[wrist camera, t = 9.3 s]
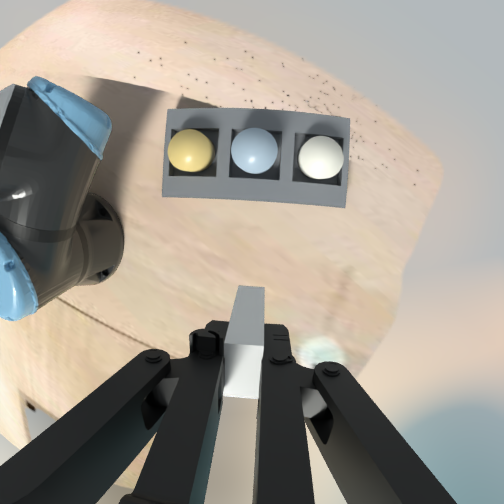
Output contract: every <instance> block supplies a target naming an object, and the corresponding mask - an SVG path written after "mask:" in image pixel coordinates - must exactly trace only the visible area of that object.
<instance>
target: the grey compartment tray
mask: <svg viewBox="0 0 504 504" xmlns="http://www.w3.org/2000/svg"><path fill="white" fill-rule="evenodd" d="M248 128H260V129H263V130H266V131H267V132H269V133H270V134H271V135H272V136H273V137H274V139H275V141H276V143H277V147H278V153H277V157H276V160H275V162H274V164H273V165H272V167H271V168H270V169H269V170H267V171H266V172H264V173H260V174H251V173H248V172H246V171H244V170H242V169H241V168H240V167H238V166H237V165H236V163H235V162H234V160H233V158H232V154H231V146H232V143H233V140H234V139H235V137H236V136H237V135H238V134H239V133H240V132H242V131H243V130H245V129H248ZM186 129H194V130H197V131H199V132H201V133H202V134H204V135H205V136H206V137H207V138H209V139H210V140H211V141H212V143H213V145H214V147H215V158H214V160H213V162H212V164H211V165H210V166H209V167H208V168H207V169H205V170H203V171H201V172H189V171H183V170H180V169H178V168H176V167H175V166H174V165H173V164H172V163H171V162H170V160H169V157H168V146H169V143H170V141H171V139H172V138H173V137H174V135H176V134H177V133H178V132H180V131H182V130H186ZM316 136H326V137H329V138H332V139H333V140H335V141H336V142H337V143H338V144H339V146H340V147H341V149H342V152H343V156H344V160H343V165H342V168H341V169H340V171H339V172H338V173H337V174H336V175H334V176H333V177H330V178H325V179H312V178H309V177H307V176H305V175H304V174H303V173H302V172H301V170H300V169H299V167H298V164H297V155H298V152H299V150H300V148H301V147H302V146H303V145H304V144H305V143H306V142H307V141H308V140H309V139H311V138H313V137H316ZM349 142H350V118H343V117H337V116H330V115H322V114H314V113H305V112H294V111H283V110H269V109H249V108H184V109H168V111H167V121H166V133H165V146H164V162H163V184H162V197H180V198H209V199H231V200H250V201H266V202H280V203H294V204H306V205H318V206H329V207H339V208H345V205H346V193H347V180H348V163H349Z"/></svg>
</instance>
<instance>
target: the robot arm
mask: <svg viewBox="0 0 504 504" xmlns="http://www.w3.org/2000/svg"><path fill="white" fill-rule="evenodd" d="M27 86H28V87H27V88H26V87H22V86H19V85H15V84H11V85H10V86H8V87H6V88H5V89H3V90H1V91H0V317H1V318H3V319H5V320H8V321H17V320H20V319H22V318H24V317H25V316H27V315H30V314H34V313H35V312H36V311H37V310H38V309H39V308H41V307H42V306H44V305H45V304H47V303H48V302H50V301H52V300H53V299H55V298H56V297H58V296H59V295H61V294H62V293H64V292H66V291H67V290H69V289H70V288H72V287H74V286H81V285H95V284H99V283H101V282H103V281H105V280H106V279H108V278H109V277H111V276H112V275H113V274H114V272H115V271H116V270H117V268H118V266H119V264H120V262H121V259H122V255H123V249H124V237H123V230H122V227H121V223H120V221H119V218H118V216H117V214H116V213H115V211H114V209H113V208H112V207H111V206H110V204H109V203H108V202H106V201H105V200H104V199H103V198H101V197H100V196H98V195H95V194H92V193H88V190H89V188H90V185H91V182H92V180H93V177H94V175H95V172H96V170H97V167H98V165H99V162H100V160H102V159H103V151H104V148H105V146H106V143H107V141H108V138H109V136H110V133H111V130H112V123H111V120H110V118H109V116H108V115H107V114H106V113H105V112H103V111H102V110H100V109H99V108H97V107H96V106H94V105H93V104H91V103H89V102H88V101H86V100H84V99H83V98H81V97H79V96H77V95H75V94H74V93H72V92H70V91H68V90H66V89H64V88H62V87H60V86H57V85H56V84H54V83H52V82H49V81H48V80H46V79H44V78H41V77H38V76H35V77H33V78H32V79H31V80H30V81H29V82H28V83H27ZM189 341H190V354H189V356H188V357H186V358H181V359H170V355H169V354H168V353H167V352H165V351H163V350H159V349H149V350H145V351H143V352H141V353H140V354H138V355H137V356H136V357H135V358H133V359H132V360H131V361H130V362H129V363H127V364H126V365H125V366H124V367H122V368H121V369H120V370H119V371H118V372H116V373H115V374H114V375H113V376H111V377H110V378H109V379H108V380H107V381H105V382H104V383H103V384H102V385H100V386H99V387H98V388H97V389H95V390H94V391H93V392H92V393H91V394H89V395H88V396H87V397H86V398H84V399H83V400H82V401H81V402H80V403H78V404H77V405H76V406H75V407H73V408H72V409H71V410H70V411H68V412H67V413H66V414H65V415H63V416H62V417H61V418H60V419H59V420H57V421H56V422H55V423H54V424H52V425H51V426H50V427H49V428H47V429H46V430H45V431H44V432H42V433H41V434H40V435H39V436H37V437H36V438H35V439H34V440H32V441H31V442H30V443H29V444H27V445H26V446H25V447H24V448H22V449H21V450H20V451H19V452H18V453H16V454H15V455H14V456H12V457H11V458H10V459H9V460H8V461H6V462H5V463H4V464H2V465H1V466H0V504H96V503H97V502H98V501H99V499H100V498H101V497H102V496H103V495H104V494H105V493H106V491H107V490H108V489H109V488H110V487H111V486H112V485H113V483H114V482H115V481H116V480H117V479H118V478H119V476H120V475H121V474H122V473H123V472H124V471H125V469H126V468H127V467H128V466H129V465H130V464H131V462H132V461H133V460H134V459H135V458H136V456H137V455H138V454H139V453H140V452H141V450H142V449H143V448H144V447H145V446H146V444H147V443H148V442H149V441H150V439H151V438H152V437H153V436H154V435H155V433H156V432H157V433H156V436H155V438H154V441H153V443H152V446H151V448H150V451H149V453H148V456H147V458H146V461H145V463H144V466H143V468H142V471H141V473H140V476H139V479H138V481H137V484H136V486H135V489H134V491H133V492H132V493H131V494H126V495H124V496H123V497H122V498H121V500H120V502H119V504H204V500H205V495H206V490H207V484H208V479H209V473H210V468H211V463H212V457H213V452H214V446H215V441H216V436H217V431H218V425H219V420H220V415H221V409H222V404H223V401H222V400H223V398H222V397H223V395H224V396H230V397H242V398H255V399H258V409H257V431H256V449H255V468H254V487H253V503H252V504H315V502H314V493H313V484H312V475H311V467H310V459H309V451H308V444H307V436H306V428H305V423H306V425H307V427H308V429H309V431H310V433H311V435H312V436H313V439H314V440H315V442H316V444H317V446H318V448H319V450H320V452H321V454H322V456H323V458H324V460H325V462H326V464H327V466H328V468H329V470H330V472H331V474H332V475H333V477H334V479H335V481H336V483H337V485H338V487H339V489H340V491H341V493H342V494H343V496H344V498H345V500H346V502H347V504H457V503H456V502H455V501H454V499H453V498H452V497H451V496H450V495H449V493H448V492H447V491H446V490H445V488H444V487H443V486H442V485H441V483H440V482H439V481H438V480H437V479H436V478H435V476H434V475H433V474H432V472H431V471H430V470H429V469H428V468H427V467H426V465H425V464H424V463H423V461H422V460H421V459H420V458H419V457H418V455H417V454H416V453H415V452H414V450H413V449H412V448H411V447H410V446H409V445H408V443H407V442H406V441H405V439H404V438H403V437H402V436H401V435H400V433H399V432H398V431H397V430H396V428H395V427H394V426H393V425H392V424H391V422H390V421H389V420H388V419H387V417H386V416H385V415H384V414H383V413H382V411H381V410H380V409H379V408H378V406H377V405H376V404H375V403H374V402H373V400H372V399H371V398H370V397H369V395H368V394H367V393H366V392H365V390H364V389H363V388H362V387H361V386H360V384H359V383H358V382H357V381H356V379H355V378H354V377H353V376H352V375H351V373H350V372H349V371H348V370H347V368H345V367H344V366H343V365H341V364H339V363H336V362H322V363H319V364H318V365H316V366H315V369H310V368H306V367H303V366H301V365H298V364H297V363H296V360H295V358H294V357H293V356H292V352H291V345H290V338H289V332H288V329H287V328H286V327H285V326H284V325H280V324H264V287H253V286H238V290H237V294H236V298H235V302H234V306H233V310H232V314H231V318H230V322H226V321H215V320H212V321H211V322H209V323H208V324H206V327H205V329H198V330H195V331H193V332H191V334H190V335H189Z"/></svg>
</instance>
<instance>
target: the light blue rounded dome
mask: <svg viewBox="0 0 504 504" xmlns="http://www.w3.org/2000/svg"><path fill="white" fill-rule="evenodd" d="M277 153H278V147H277V143H276V141H275V139H274V137H273V136H272V135H271V134H270V133H269V132H267V131H266V130H263V129H260V128H248V129H245V130H243V131H242V132H240V133H239V134H238V135H237V136H236V137H235V139H234V140H233V143H232V146H231V154H232V158H233V160H234V162H235V163H236V165H237V166H238V167H240V168H241V169H242V170H244V171H246V172H248V173H251V174H260V173H264V172H266V171H267V170H269V169H270V168H271V167H272V165H273V164H274V162H275V160H276V157H277Z"/></svg>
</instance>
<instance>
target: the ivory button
mask: <svg viewBox="0 0 504 504" xmlns="http://www.w3.org/2000/svg"><path fill="white" fill-rule="evenodd" d="M343 160H344V156H343V152H342V149H341V147H340V146H339V144H338V143H337V142H336V141H335V140H333V139H332V138H329V137H326V136H316V137H313V138H311V139H309V140H308V141H307V142H306V143H305V144H304V145H303V146H302V147H301V148H300V150H299V152H298V155H297V164H298V167H299V169H300V170H301V172H302V173H303V174H304V175H305V176H307V177H309V178H312V179H325V178H330V177H333V176H334V175H336V174H337V173H338V172H339V171H340V169H341V168H342V165H343Z"/></svg>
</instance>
